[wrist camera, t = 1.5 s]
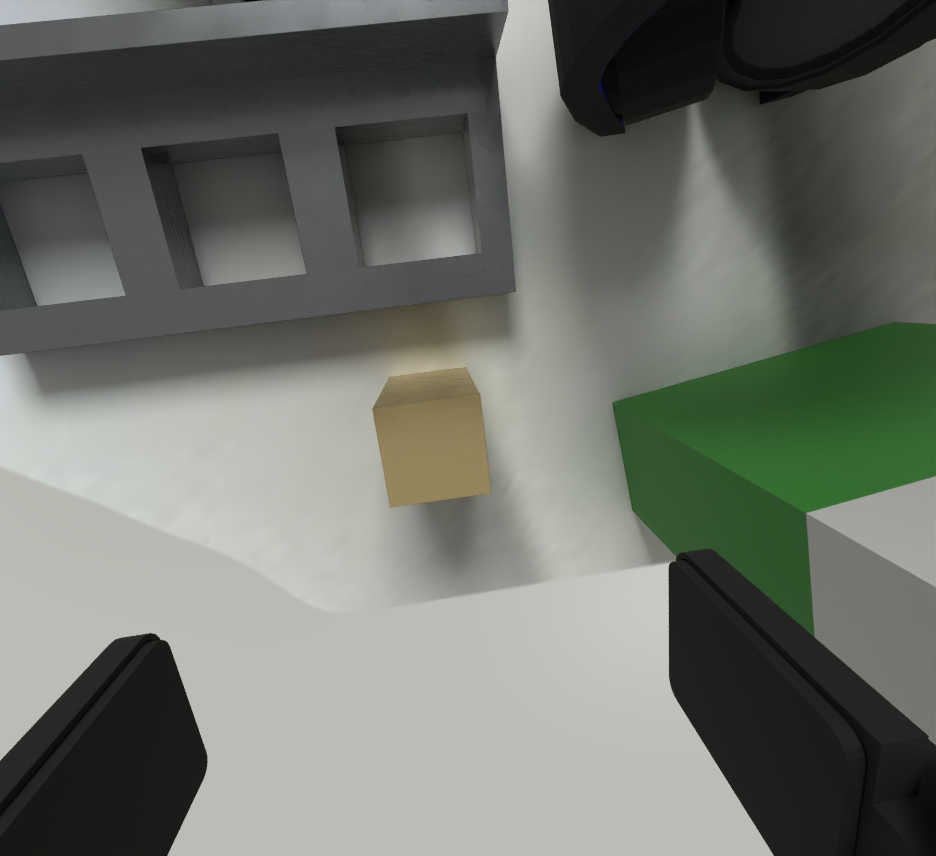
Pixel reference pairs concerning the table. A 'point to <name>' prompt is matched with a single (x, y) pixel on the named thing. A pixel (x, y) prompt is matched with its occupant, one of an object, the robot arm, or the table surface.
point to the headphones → (719, 50)
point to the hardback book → (811, 493)
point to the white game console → (231, 1)
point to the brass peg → (432, 437)
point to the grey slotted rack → (247, 150)
